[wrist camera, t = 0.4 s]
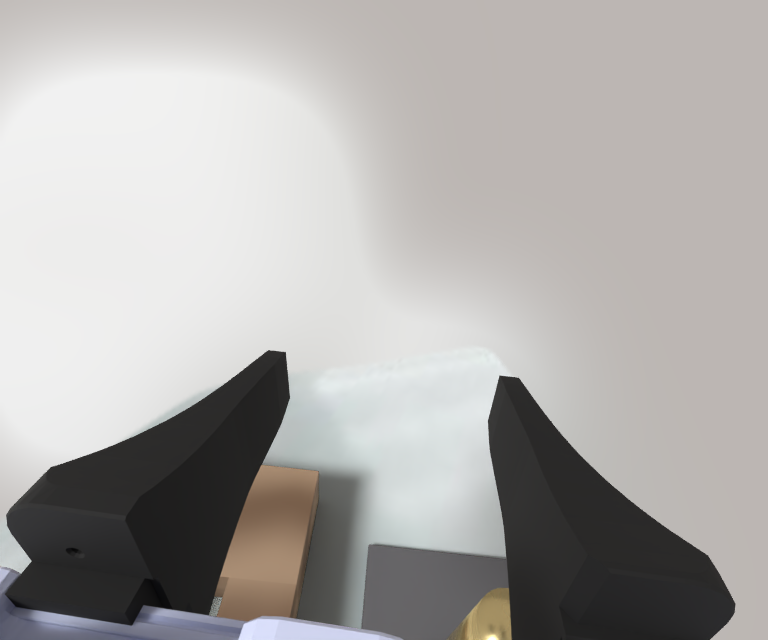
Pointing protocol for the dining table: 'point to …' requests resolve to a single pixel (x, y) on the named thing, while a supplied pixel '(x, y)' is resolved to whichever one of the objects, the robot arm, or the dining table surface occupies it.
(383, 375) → the dining table surface
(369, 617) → the rubber mat
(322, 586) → the dining table surface
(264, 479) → the walnut block
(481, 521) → the dining table surface
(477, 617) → the brass pin
